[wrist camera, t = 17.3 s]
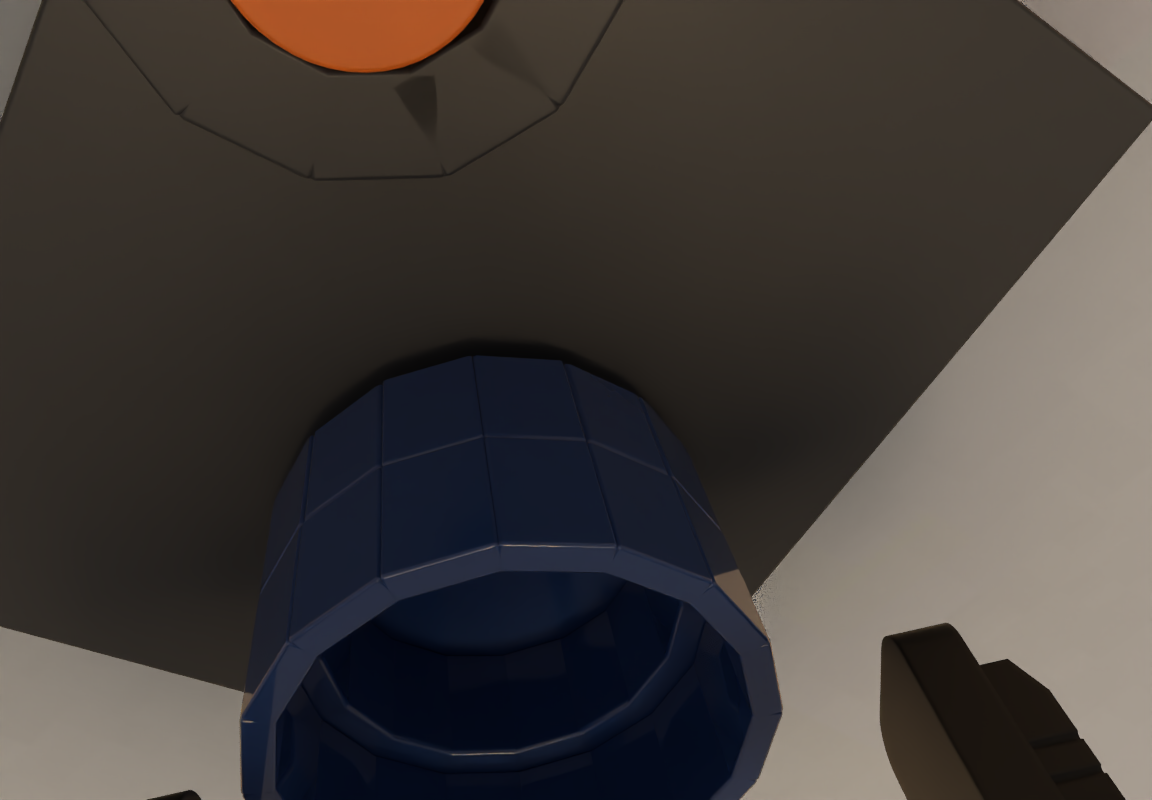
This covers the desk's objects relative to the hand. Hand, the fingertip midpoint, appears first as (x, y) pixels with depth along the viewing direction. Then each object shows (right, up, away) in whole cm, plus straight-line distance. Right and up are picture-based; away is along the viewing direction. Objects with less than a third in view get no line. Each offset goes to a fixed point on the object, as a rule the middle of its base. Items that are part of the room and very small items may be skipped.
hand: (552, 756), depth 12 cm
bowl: (-1, +2, +4) cm, 5 cm away
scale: (-1, +5, +4) cm, 7 cm away
